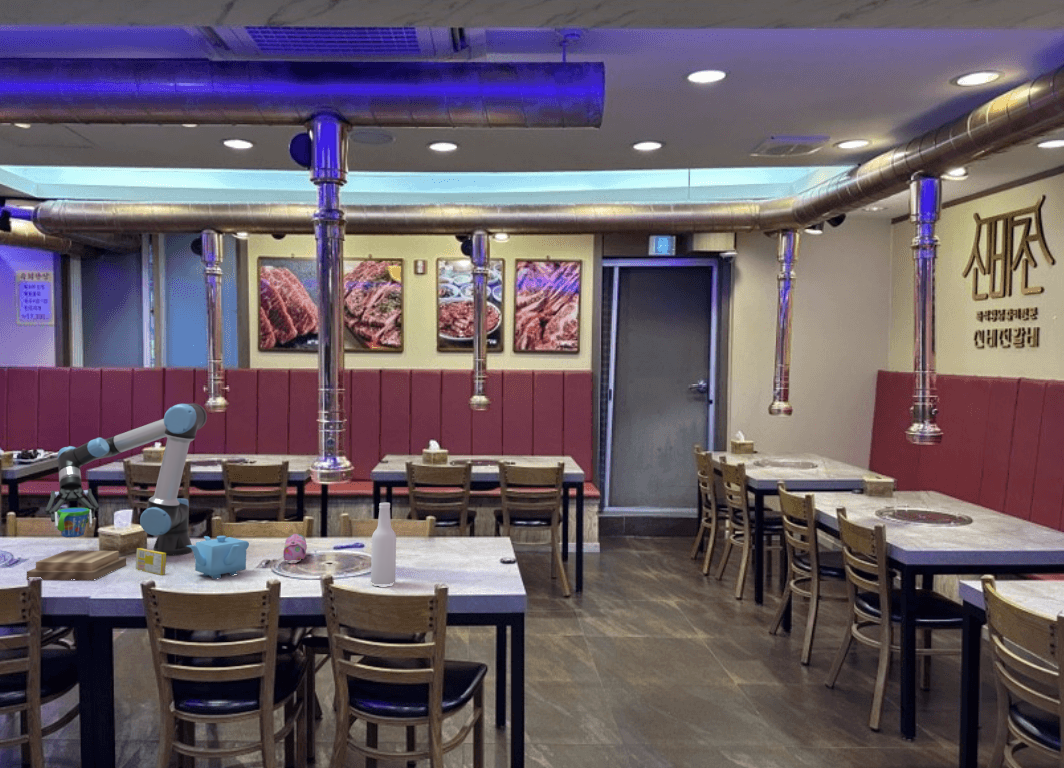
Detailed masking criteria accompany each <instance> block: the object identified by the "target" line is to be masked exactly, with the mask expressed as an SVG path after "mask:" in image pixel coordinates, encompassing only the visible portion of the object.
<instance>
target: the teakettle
mask: <svg viewBox="0 0 1064 768" xmlns="http://www.w3.org/2000/svg"><path fill="white" fill-rule="evenodd" d="M203 538H204V539H205V540H201V541H196V542H195V544H192V545H189V546H187V547H189V548H191V549H192V552H193V557H194V560H195V562H194V563H195V565H194V567H195V568H194V571H196V572H199V573H201V574H202V576H203V577H204V576H205V577H207V576H208V575H209V576H210V577H212V578H213V579H212V580H218V579H217V578H220V577H221V576H222V575H224V574H228V573H229V575H230V574H231V575H234V574H238V575H239V573H238V572H240V571H244V570H247V550H248V548H249V546H250V542H249V541H247V540H243V539H239V538H235V537H232V536H229V537H228V536H227V535H217V536H216V538H214V539H211V537H210V536H208V535H207V536H206V535H205V536H203ZM231 575H230V576H231ZM220 579H221V578H220Z"/></svg>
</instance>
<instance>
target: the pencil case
mask: <svg viewBox="0 0 1064 768" xmlns="http://www.w3.org/2000/svg"><path fill="white" fill-rule="evenodd" d="M284 544H285V545H284V546H283V553H282V554H283V559H284V561H285V560H300V559H303V560H305V558H306V555H307V550H308V549H307V548H308V547H307V546H308V544H307V541H306V537H305V536H304V535H302V534H299V533H293V534H291V535H289V536H288V537H287V538H286V539H285V543H284Z"/></svg>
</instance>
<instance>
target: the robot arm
mask: <svg viewBox="0 0 1064 768" xmlns="http://www.w3.org/2000/svg"><path fill="white" fill-rule="evenodd" d="M207 417H208V415H207V412H206V409H204V407H203V406H202V405H200V404H198V403H194V402H192V403H178V404H175V405H173V406H170V407H169V408H168V409H167V410H166V412H165V414H164V417H163V418H161V419H158V420H156V421H153V422H150V423H148V424H145V425H143V426H139V427H137V428H134V429H130V430H128V431H126V432H123V433H119V434H116V435H115V436H111V437H108V438H103V437H96V438H94V439H91V440H90V441H87V442H86V443H84V444H82V445H80V446H77V447H75V446H71V445H69V446H65V447H62V448H60V449H59V451H58V453H57V465H58V466H57V467H58V481H59V491H55V490H51V492H50V497H49V498H50V499H49V501H48V503H47V506H46V507H45V512H44V513H45V515H46V516H47V515H49V516H50V521H51V522H52V523H54V530H55V531H58V528H57V526H58V522H59V517H58V514H57V511H58V510H60V509H61V507H62V506H63V505H64V504H65V503H66V502H76V501H77V502H78V503H79V504H81V505H82V506H83V508H88V509H89V510H90V512H89V514H88V526H89V527H88V528H93V527H92V526H93V520H94V519H95V512H99V509H100V505H99V503H98V501H97V500H96V498H95V496H94V495H93V492H92V488H87V489H85V490H84V489H83V485H82V475H81V474H82V473H81V467H82V466H85V465H87V464H89V463H91V462H93V461H96V460H99V459H104V458H105V459H106V458H111V457H115V456H116V455H118V454H121V453H123V452H127V451H130V450H132V449H135V448H138V447H140V446H144V445H146V444H149V443H151V442H154V441H158V440H160V439H163V438H166V443H165V448H164V453H163V456H162V461H161V465H160V469H159V472H158V477H157V481H156V486H155V490H154V495H153V496H151V497H150V498H148V502H147V506H146V509H145V510H144V511H143V512H142V513H141V515H140V518H139V524H140V526H141V528H142V530H143V531H144V532H145V533H146V534H148V535H151V536H157V537H156V540H155V542H154V545H153V549H152V550H153V551H158V552H163V553H166V557H168V556H180V555H184V554H185V555H186V554H189V552H190V553H191V552H193V550H192V549H191V548H189V547H187V546H189V545H193V544H192V542H191V538H190V535H189V516H190V514H189V510H190V509H189V508H190V506H189V504H190V503H189V499H188V498H178V496H179V495H178V494H179V490H180V487H181V481H182V478H183V473H184V469H185V464H186V461H187V456H188V451H189V448H190V445H191V444H190V443H191V442H192V441H194V440H195V439H196V436H197V431H198V430H200V429H202V428H203V427H204V426H205V424H206V423H207V419H208V418H207ZM83 495H85V496H86V497H87V499H88V500H89V501H88V500H87V499H86V498H85V497H84V496H83ZM58 496H59V497H60V499H59V500H58V501H57V503H56V504H55V505H54V502H55V499H56V498H57V497H58ZM53 505H54V506H53ZM52 507H53V508H52Z"/></svg>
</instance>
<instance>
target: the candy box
mask: <svg viewBox="0 0 1064 768" xmlns="http://www.w3.org/2000/svg"><path fill="white" fill-rule="evenodd" d="M135 558H136V559H135V570H136V569H138V570H137V571H140V570H142V571H141V572H146V573H150V574H154V575H158V576H163V575H164V576H165V575H166V565H167V564H166V563H167V556H166V553H163V552H158V551H153V549H148V548H143V547H140V548H138V547H137V548H136V557H135Z"/></svg>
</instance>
